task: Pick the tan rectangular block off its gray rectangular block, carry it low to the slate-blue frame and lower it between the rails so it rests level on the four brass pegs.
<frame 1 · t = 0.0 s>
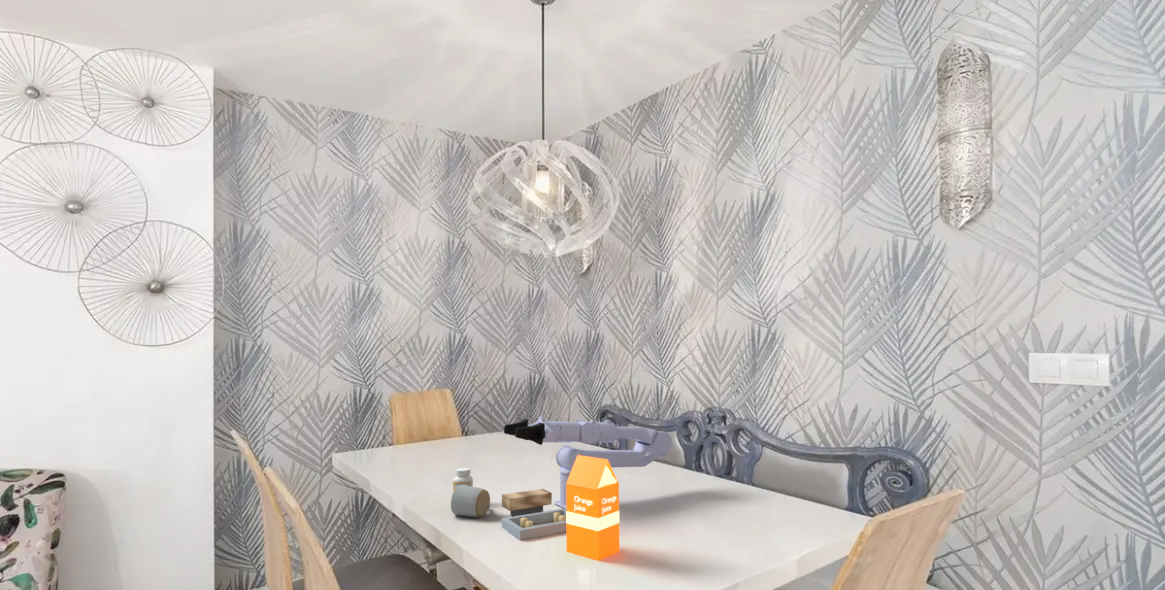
hand: (510, 431, 156), 22 cm above the table, tool horizontal, fingers open, 7 cm apart
orange juice: (592, 552, 128), on the table
supplement bottle: (462, 504, 166), on the table
tan rectangular block: (526, 505, 155), point 2 cm above the table, touching gray rectangular block
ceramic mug: (472, 515, 156), on the table
gray rectangular block: (526, 515, 155), on the table
peg frame: (543, 527, 144), on the table
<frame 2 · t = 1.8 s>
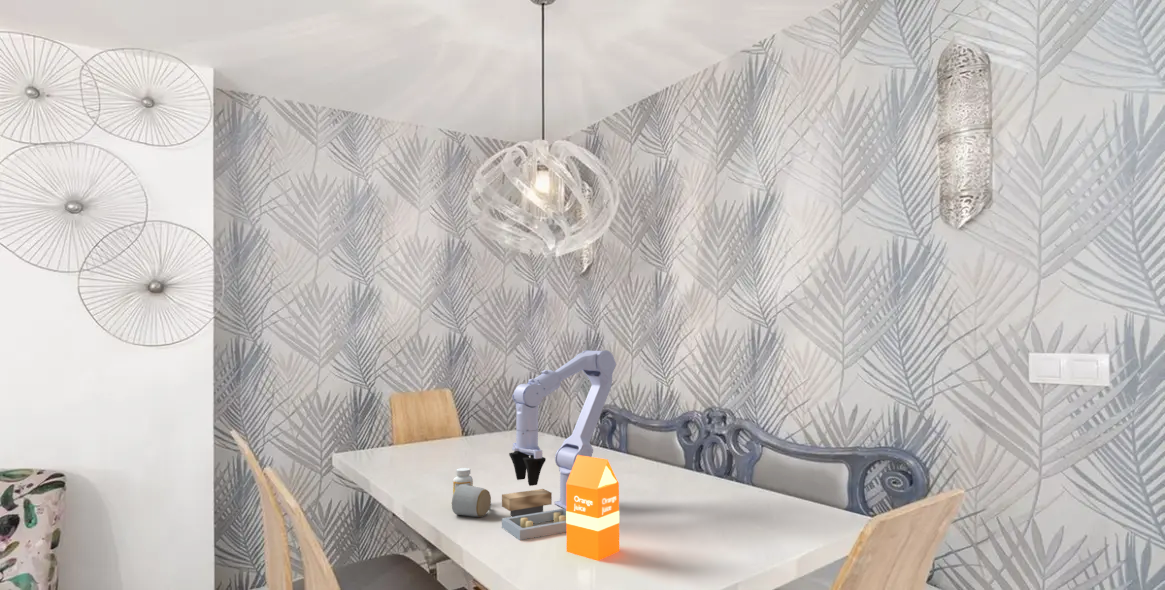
hand: (526, 482, 156), 8 cm above the table, tool pointing down, fingers open, 7 cm apart
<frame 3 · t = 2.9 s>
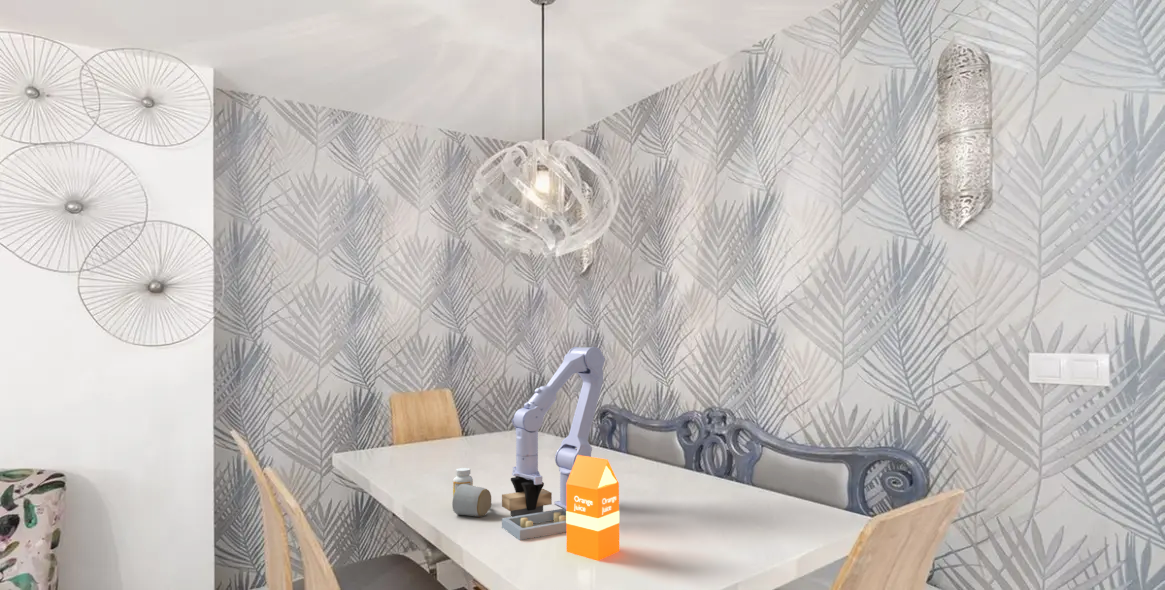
hand: (526, 507, 155), 2 cm above the table, tool pointing down, fingers closed on tan rectangular block, 5 cm apart
tan rectangular block: (526, 505, 155), point 2 cm above the table, touching gripper, gray rectangular block
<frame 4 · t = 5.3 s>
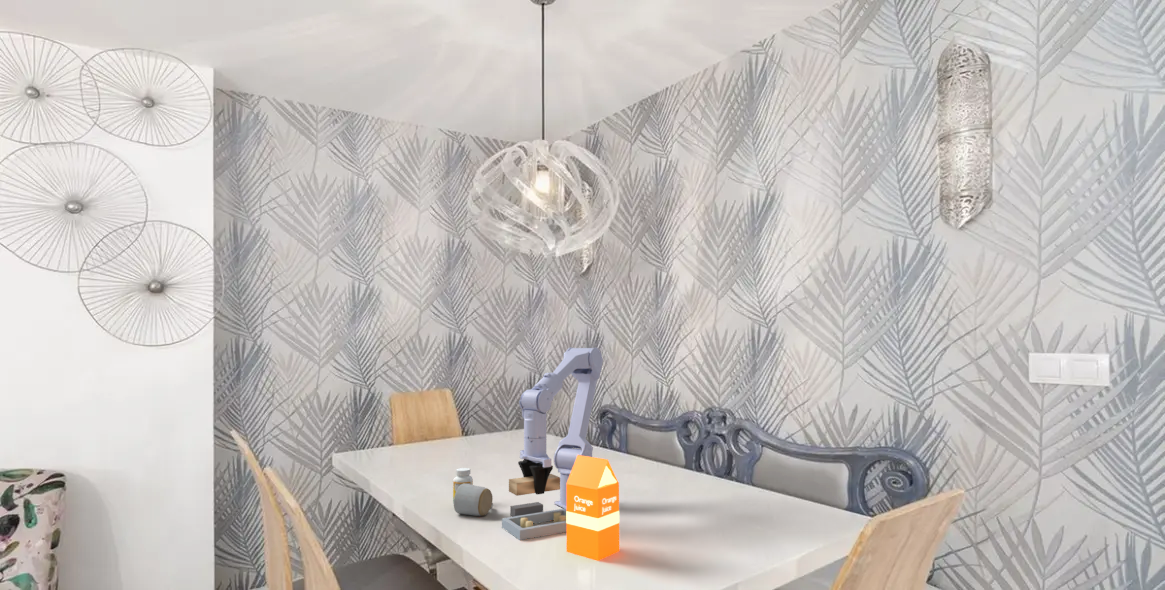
hand: (535, 491, 150), 7 cm above the table, tool pointing down, fingers closed on tan rectangular block, 5 cm apart
tan rectangular block: (534, 490, 150), point 8 cm above the table, touching gripper
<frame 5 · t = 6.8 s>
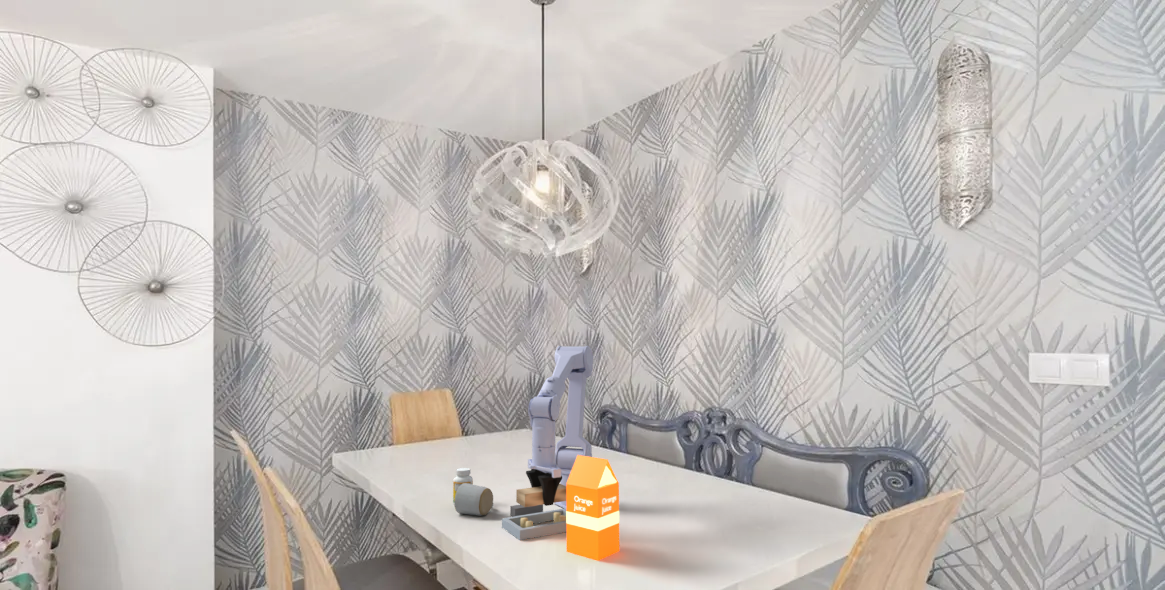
hand: (543, 502, 145), 6 cm above the table, tool pointing down, fingers closed on tan rectangular block, 5 cm apart
tan rectangular block: (543, 501, 144), point 6 cm above the table, touching gripper
when the fingers open (3 cm above the table, at t = 7.9 s): tan rectangular block stays where it is, resting on peg frame.
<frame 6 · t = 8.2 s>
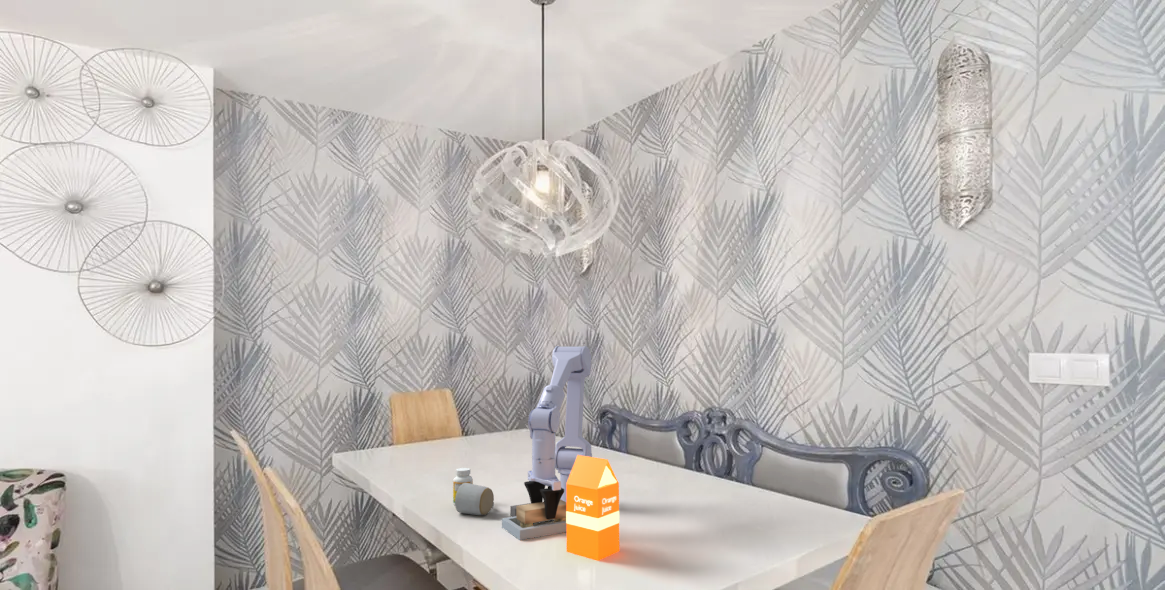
hand: (543, 514, 144), 3 cm above the table, tool pointing down, fingers open, 7 cm apart
tan rectangular block: (543, 517, 144), point 2 cm above the table, touching peg frame
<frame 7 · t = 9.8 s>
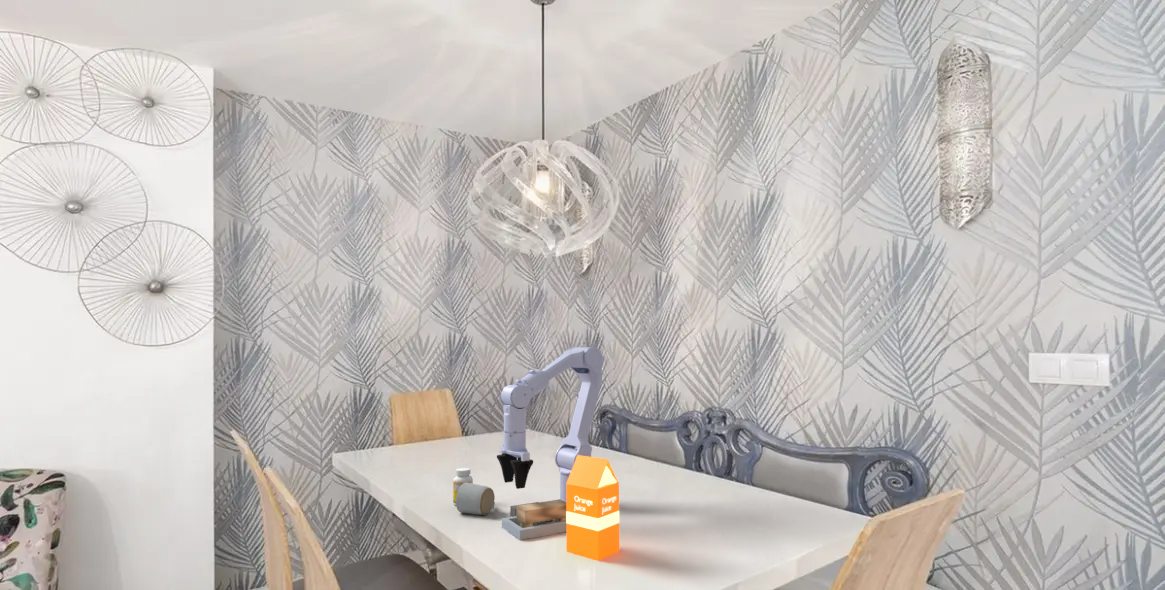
hand: (514, 484, 153), 8 cm above the table, tool pointing down, fingers open, 7 cm apart
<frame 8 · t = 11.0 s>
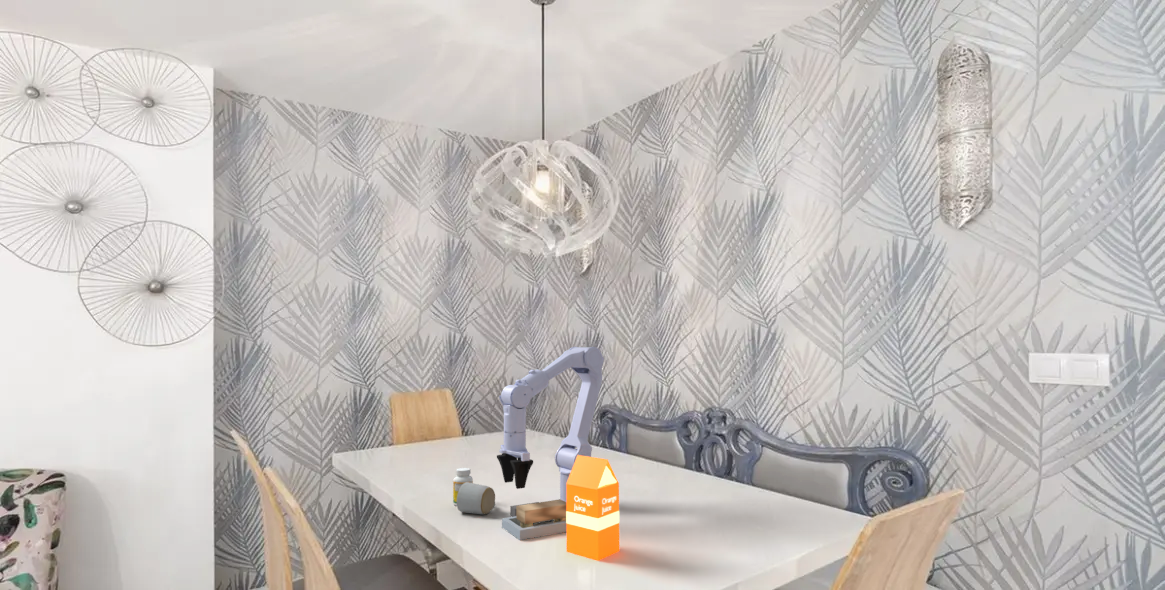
hand: (514, 484, 153), 8 cm above the table, tool pointing down, fingers open, 7 cm apart
at the end: tan rectangular block 0.1 cm off-centre on the peg frame, point 2.5 cm above the peg frame's base; tan rectangular block tilted 0°; the gripper is holding nothing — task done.
